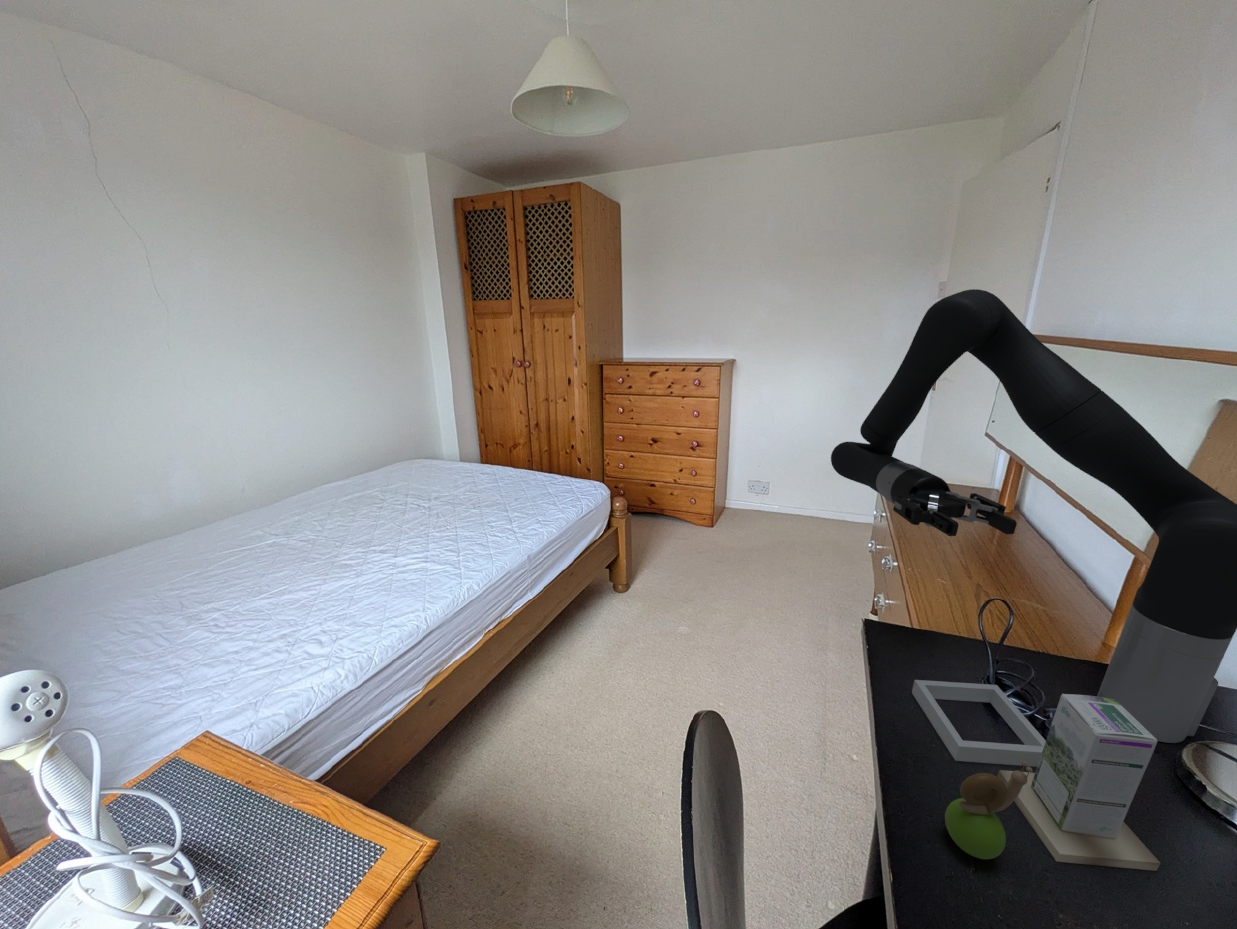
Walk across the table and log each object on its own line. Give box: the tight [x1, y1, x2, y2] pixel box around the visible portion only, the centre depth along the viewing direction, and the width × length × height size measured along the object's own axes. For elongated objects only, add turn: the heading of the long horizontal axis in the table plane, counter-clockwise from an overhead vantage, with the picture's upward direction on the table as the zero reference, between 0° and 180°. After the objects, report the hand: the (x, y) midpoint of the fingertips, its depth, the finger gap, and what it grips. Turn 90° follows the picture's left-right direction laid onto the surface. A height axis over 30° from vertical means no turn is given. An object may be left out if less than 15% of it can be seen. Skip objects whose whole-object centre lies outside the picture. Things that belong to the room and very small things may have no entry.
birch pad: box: [996, 769, 1161, 872], centre depth 57 cm, size 10×10×1 cm
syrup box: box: [1031, 693, 1158, 839], centre depth 54 cm, size 6×6×14 cm
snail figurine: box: [944, 761, 1034, 860], centre depth 52 cm, size 5×6×12 cm
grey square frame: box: [911, 679, 1047, 768], centre depth 69 cm, size 12×12×2 cm
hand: (984, 529), depth 67 cm, fingers open, 8 cm apart
